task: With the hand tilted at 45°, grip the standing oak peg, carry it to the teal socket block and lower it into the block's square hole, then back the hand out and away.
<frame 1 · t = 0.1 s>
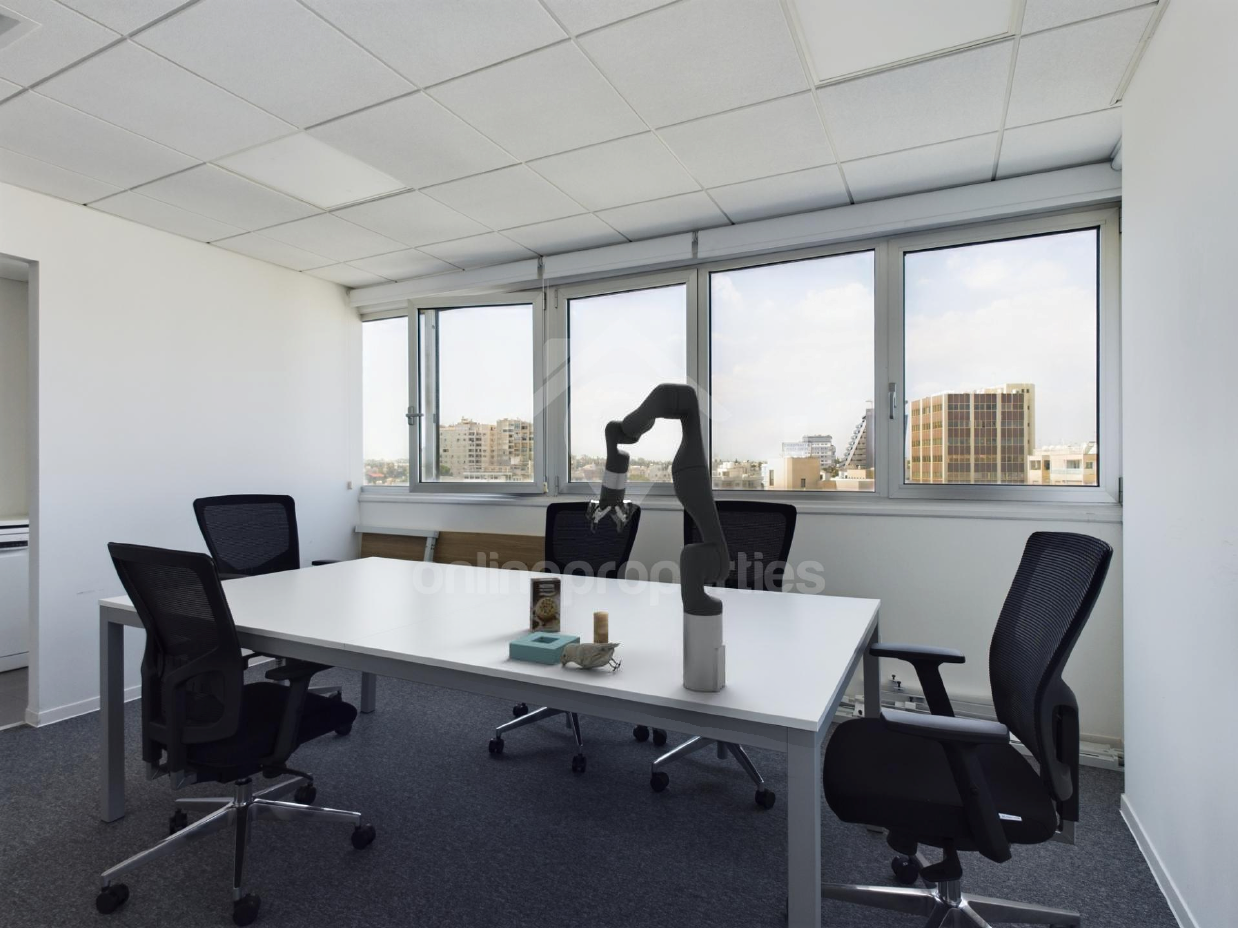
hand: (606, 531, 204), 31 cm above the table, tool tilted 20°, fingers open, 8 cm apart
peg: (600, 648, 184), on the table
decorative bird: (590, 669, 165), on the table
socket block: (545, 654, 177), on the table
coffee box: (545, 630, 206), on the table
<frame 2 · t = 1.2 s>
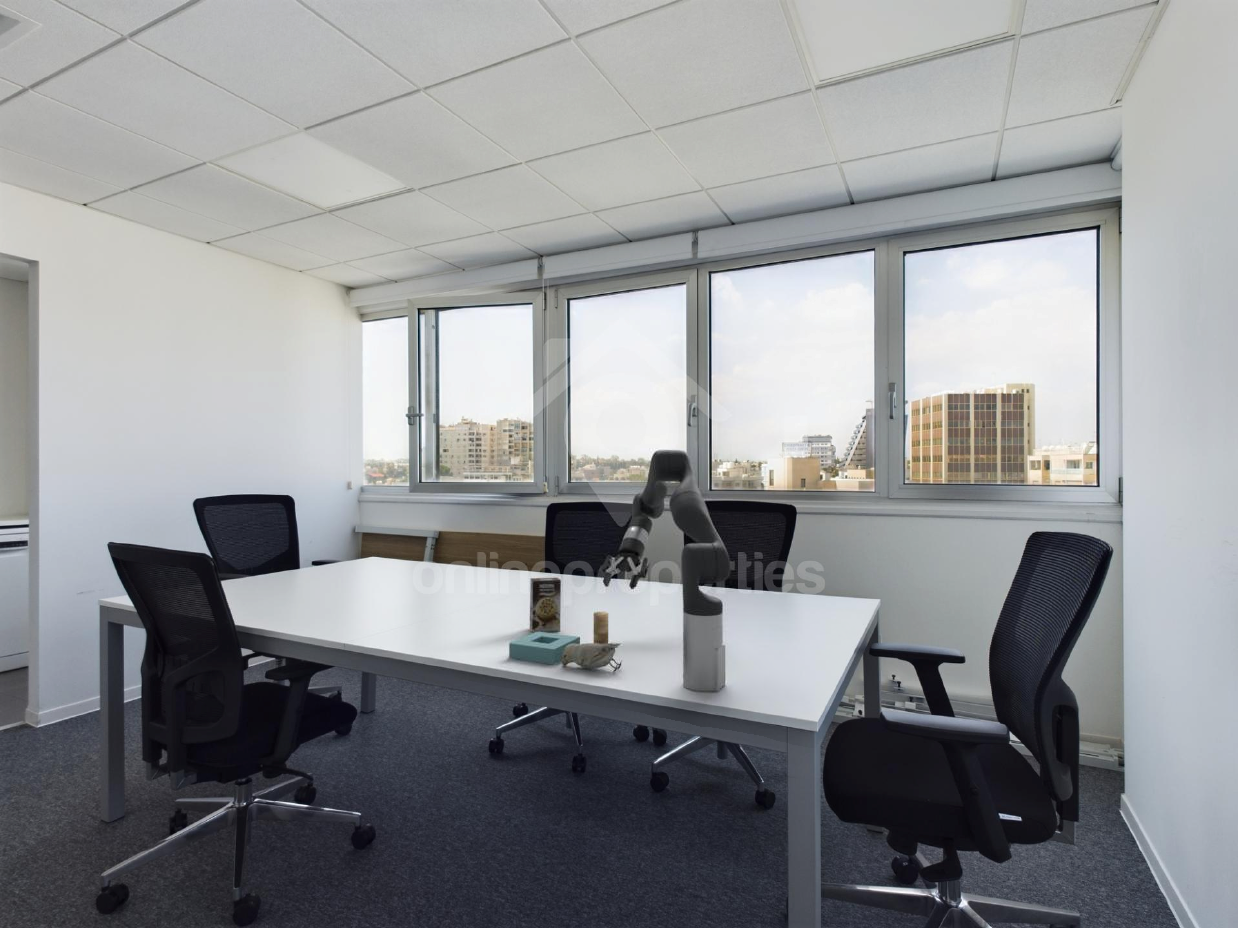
hand: (618, 586, 194), 16 cm above the table, tool tilted 45°, fingers open, 8 cm apart
nothing on the table moved.
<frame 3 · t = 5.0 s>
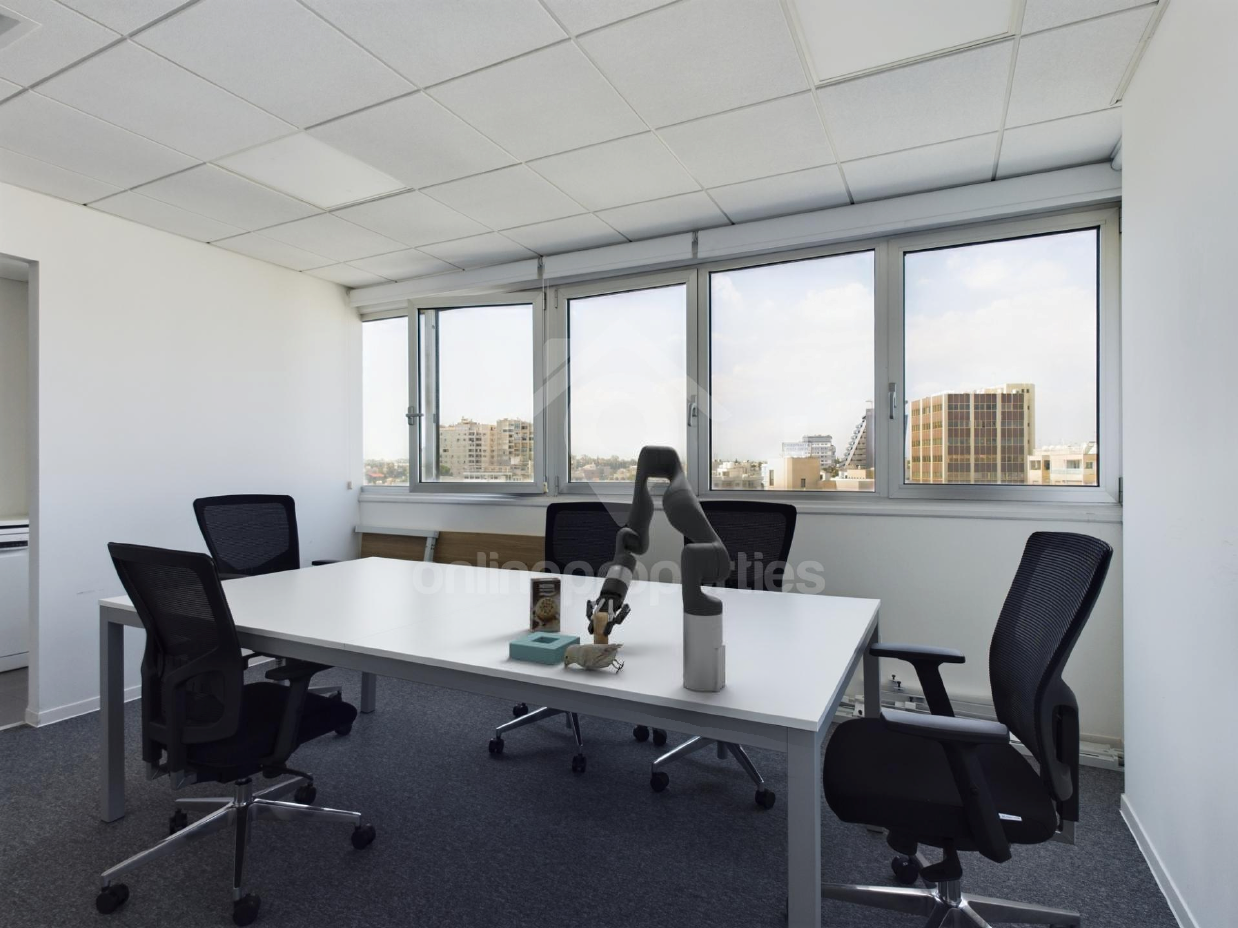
hand: (598, 633, 182), 5 cm above the table, tool tilted 45°, fingers closed on peg, 4 cm apart
peg: (601, 648, 184), on the table, touching gripper
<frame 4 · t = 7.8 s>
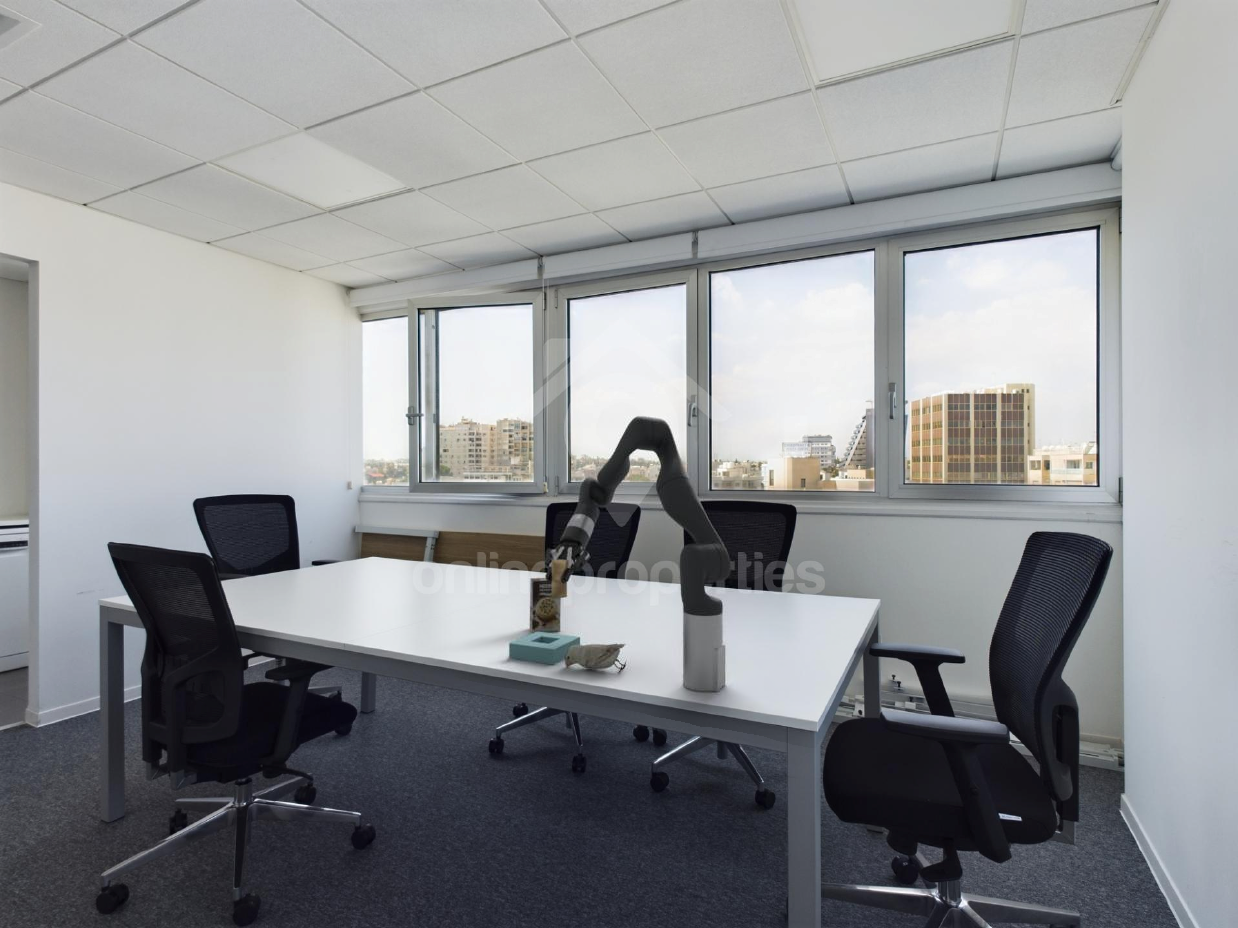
hand: (555, 580, 178), 20 cm above the table, tool tilted 45°, fingers closed on peg, 4 cm apart
peg: (559, 596, 180), point 16 cm above the table, touching gripper
when the fingers open (6 cm above the table, at t = 10.6 s): peg drops 1 cm, resting in socket block.
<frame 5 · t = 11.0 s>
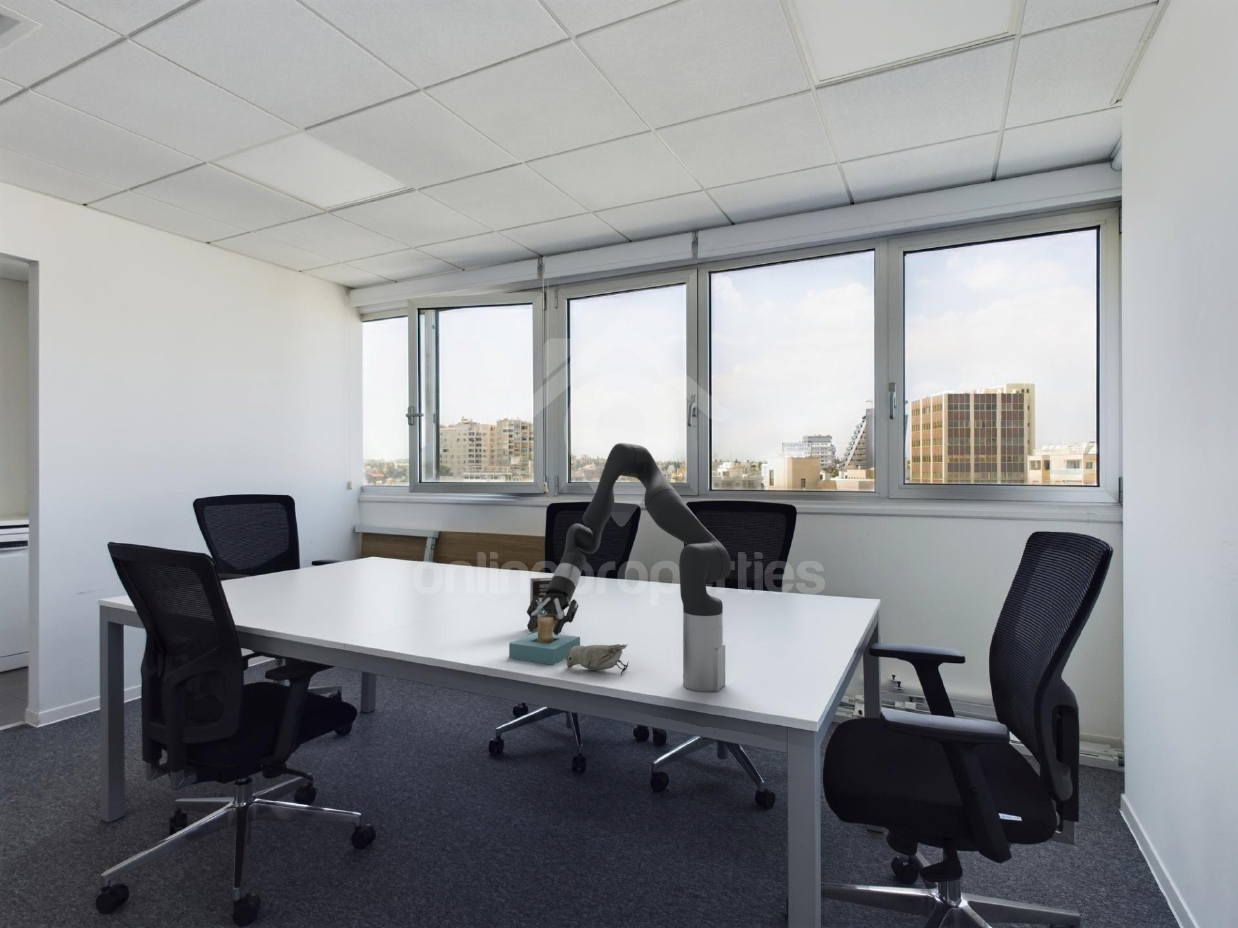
hand: (542, 631, 176), 7 cm above the table, tool tilted 45°, fingers open, 7 cm apart
peg: (545, 654, 178), resting in socket block
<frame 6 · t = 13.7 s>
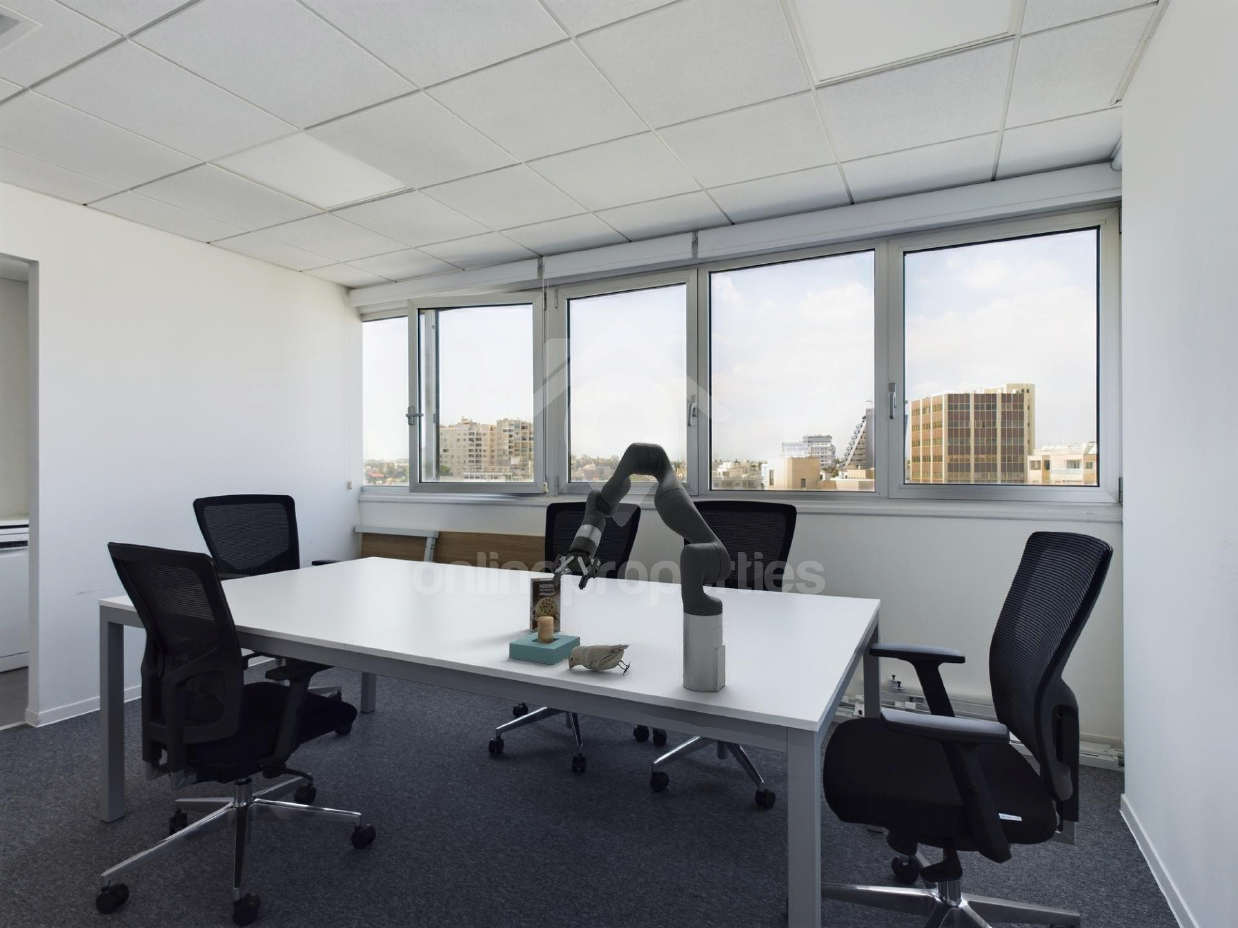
hand: (567, 586, 188), 17 cm above the table, tool tilted 45°, fingers open, 8 cm apart
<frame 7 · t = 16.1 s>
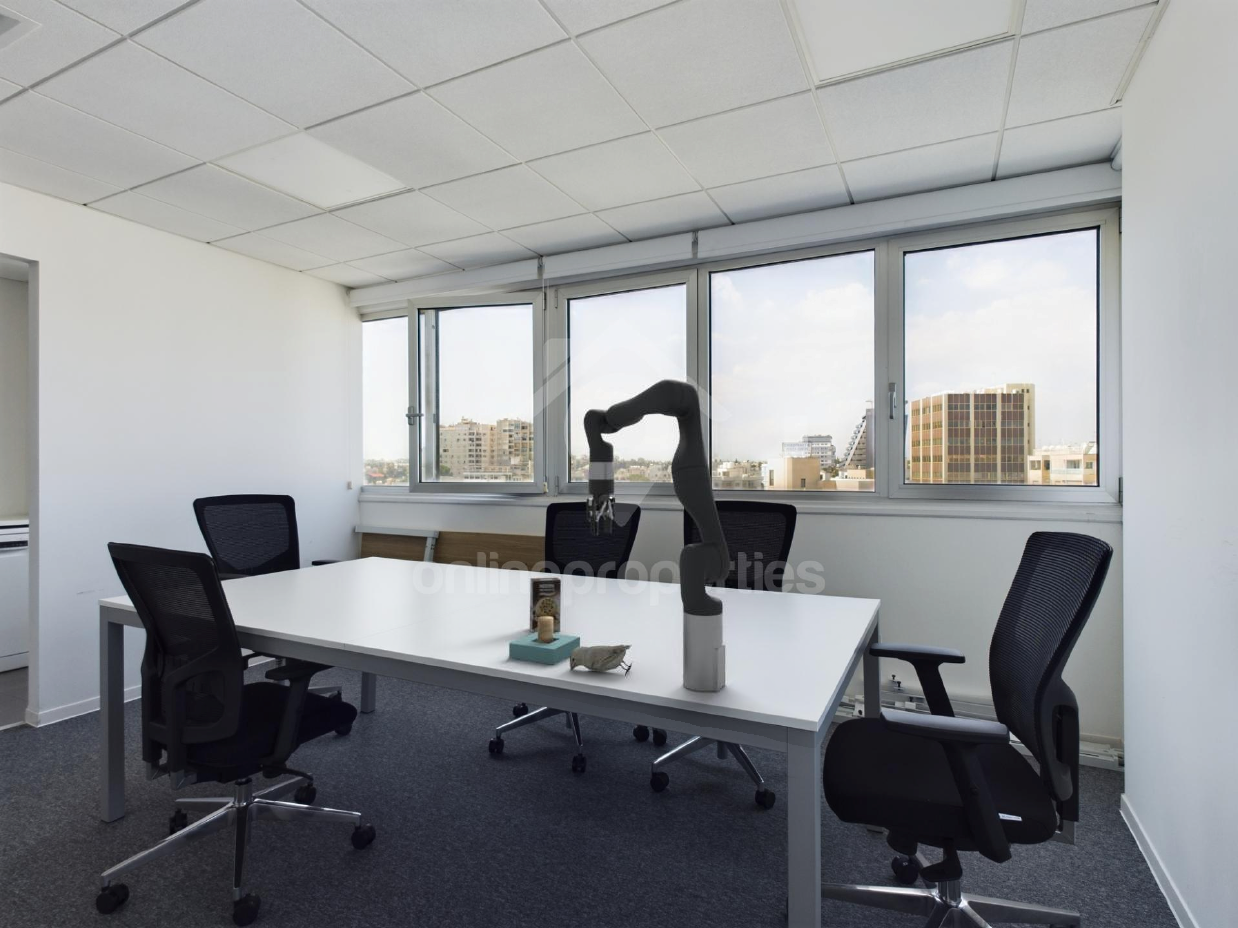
hand: (601, 533, 188), 32 cm above the table, tool pointing down, fingers open, 8 cm apart
at the end: peg 0.1 cm off-centre on the socket block, point 0.0 cm above the socket block's base; peg tilted 0°; the gripper is holding nothing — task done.
